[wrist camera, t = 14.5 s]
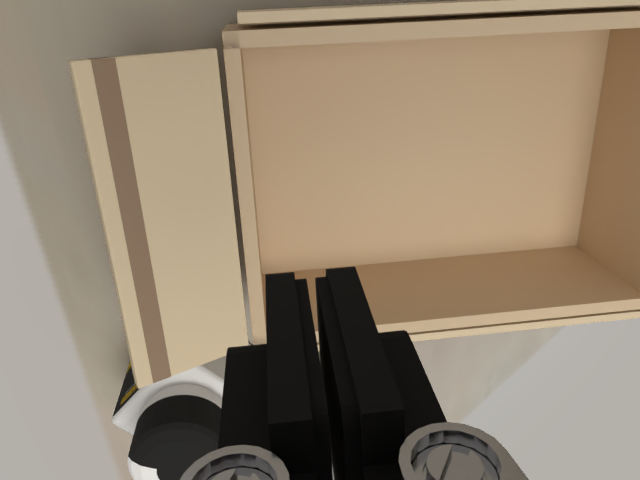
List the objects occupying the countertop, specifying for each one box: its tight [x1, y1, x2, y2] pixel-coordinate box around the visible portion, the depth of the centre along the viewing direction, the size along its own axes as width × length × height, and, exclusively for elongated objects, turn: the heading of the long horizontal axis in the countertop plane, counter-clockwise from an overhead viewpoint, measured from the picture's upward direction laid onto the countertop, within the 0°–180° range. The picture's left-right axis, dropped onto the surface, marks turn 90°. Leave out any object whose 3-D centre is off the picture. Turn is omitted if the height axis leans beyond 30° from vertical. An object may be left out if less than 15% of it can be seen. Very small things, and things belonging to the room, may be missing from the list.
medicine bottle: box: [112, 343, 251, 480], centre depth 39 cm, size 7×7×12 cm
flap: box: [68, 48, 248, 389], centre depth 28 cm, size 1×17×6 cm
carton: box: [222, 0, 640, 351], centre depth 36 cm, size 26×20×9 cm
